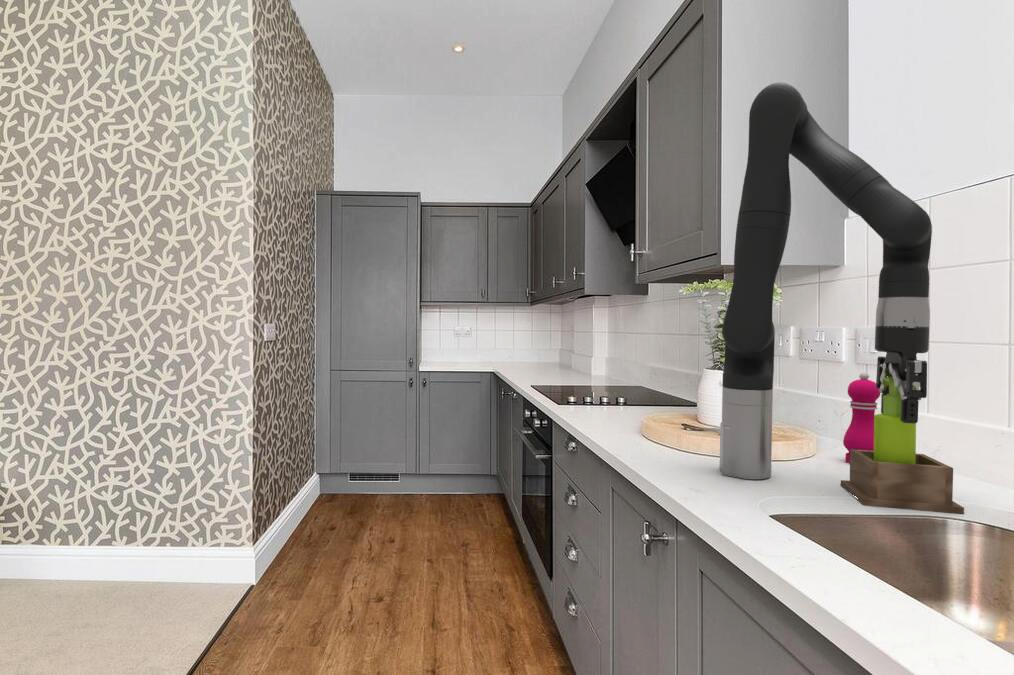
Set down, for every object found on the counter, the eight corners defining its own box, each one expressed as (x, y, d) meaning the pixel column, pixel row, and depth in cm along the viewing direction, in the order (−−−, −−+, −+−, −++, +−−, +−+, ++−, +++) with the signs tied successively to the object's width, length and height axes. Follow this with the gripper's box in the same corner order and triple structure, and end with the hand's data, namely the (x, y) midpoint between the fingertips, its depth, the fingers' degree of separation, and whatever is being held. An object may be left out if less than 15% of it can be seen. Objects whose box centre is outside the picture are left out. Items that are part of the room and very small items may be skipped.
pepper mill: (851, 466, 116) (853, 373, 116) (837, 458, 123) (839, 370, 123) (889, 468, 115) (891, 373, 115) (872, 460, 122) (874, 371, 122)
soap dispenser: (929, 498, 91) (931, 378, 90) (882, 496, 92) (884, 377, 92) (910, 488, 96) (912, 375, 96) (867, 486, 98) (868, 374, 97)
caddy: (863, 505, 90) (864, 462, 90) (840, 485, 102) (841, 448, 102) (963, 514, 86) (965, 469, 86) (928, 492, 98) (929, 453, 98)
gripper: (862, 324, 101) (859, 411, 102) (893, 323, 88) (889, 424, 88) (909, 325, 99) (906, 414, 100) (948, 324, 86) (944, 427, 86)
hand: (898, 418), depth 94 cm, fingers open, 8 cm apart
